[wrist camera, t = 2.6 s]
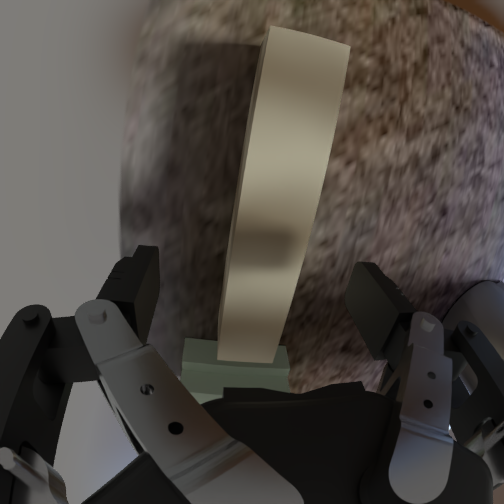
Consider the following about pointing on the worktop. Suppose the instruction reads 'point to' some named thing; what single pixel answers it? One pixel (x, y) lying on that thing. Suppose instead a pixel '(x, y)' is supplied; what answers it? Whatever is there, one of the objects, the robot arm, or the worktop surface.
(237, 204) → the bar
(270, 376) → the ridge
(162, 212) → the worktop surface
